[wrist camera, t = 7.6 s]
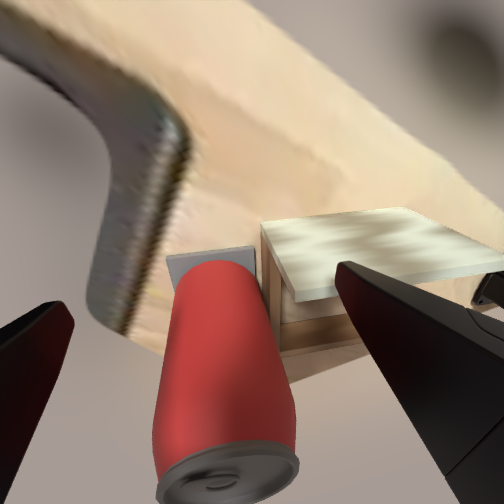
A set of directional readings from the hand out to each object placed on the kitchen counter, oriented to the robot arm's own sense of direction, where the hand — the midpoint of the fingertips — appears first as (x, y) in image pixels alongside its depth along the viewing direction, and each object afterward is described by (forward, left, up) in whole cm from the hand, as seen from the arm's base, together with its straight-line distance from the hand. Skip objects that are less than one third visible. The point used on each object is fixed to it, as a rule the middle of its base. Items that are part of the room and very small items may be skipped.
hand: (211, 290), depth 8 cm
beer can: (0, +7, -9) cm, 12 cm away
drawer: (-9, +8, -10) cm, 16 cm away
